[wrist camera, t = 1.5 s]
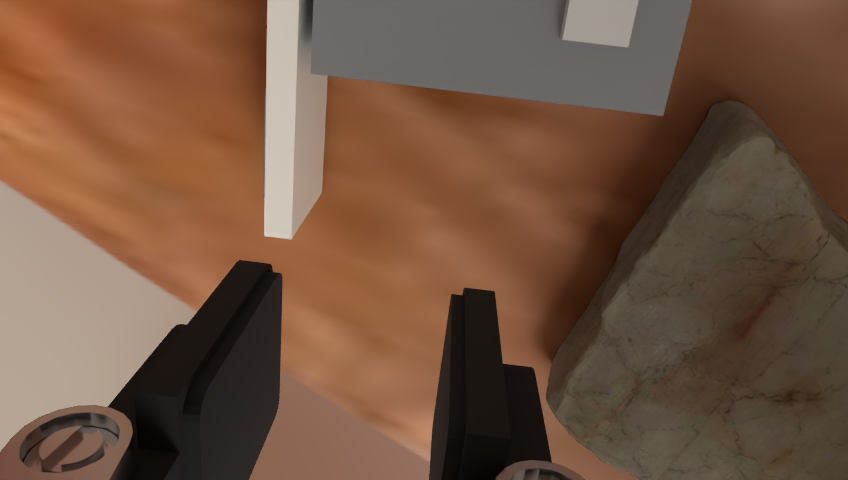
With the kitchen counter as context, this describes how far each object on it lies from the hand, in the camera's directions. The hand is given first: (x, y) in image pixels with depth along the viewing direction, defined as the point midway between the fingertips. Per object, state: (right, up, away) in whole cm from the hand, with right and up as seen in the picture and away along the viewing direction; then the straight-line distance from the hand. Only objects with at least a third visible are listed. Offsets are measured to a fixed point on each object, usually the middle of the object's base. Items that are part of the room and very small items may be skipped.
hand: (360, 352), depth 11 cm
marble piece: (+16, -2, +19) cm, 25 cm away
